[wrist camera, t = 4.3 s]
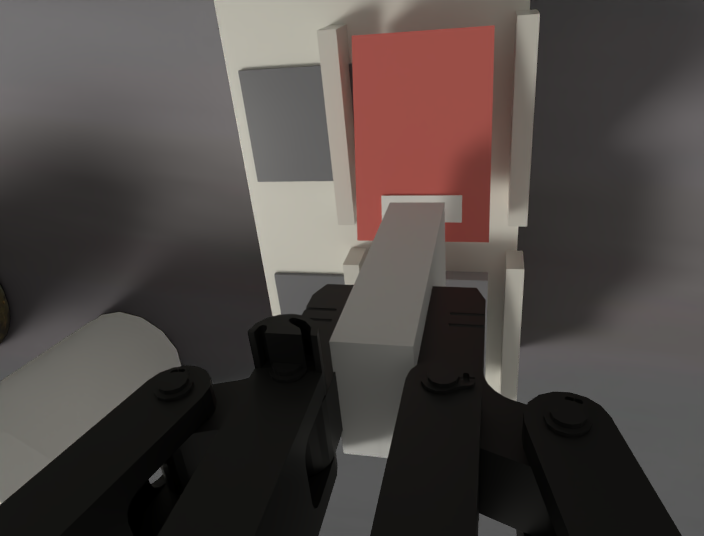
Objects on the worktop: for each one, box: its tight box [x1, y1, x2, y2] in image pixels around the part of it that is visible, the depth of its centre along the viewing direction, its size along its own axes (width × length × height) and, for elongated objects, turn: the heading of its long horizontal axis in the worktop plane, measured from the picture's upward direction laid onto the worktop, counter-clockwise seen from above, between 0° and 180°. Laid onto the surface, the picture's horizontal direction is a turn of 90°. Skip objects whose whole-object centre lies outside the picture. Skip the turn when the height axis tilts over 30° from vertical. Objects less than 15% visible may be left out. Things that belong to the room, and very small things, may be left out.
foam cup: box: [0, 312, 181, 504], centre depth 29 cm, size 10×9×13 cm
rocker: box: [352, 25, 495, 242], centre depth 17 cm, size 6×4×1 cm, turn 6°
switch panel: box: [214, 0, 540, 401], centre depth 21 cm, size 27×10×6 cm, turn 5°
